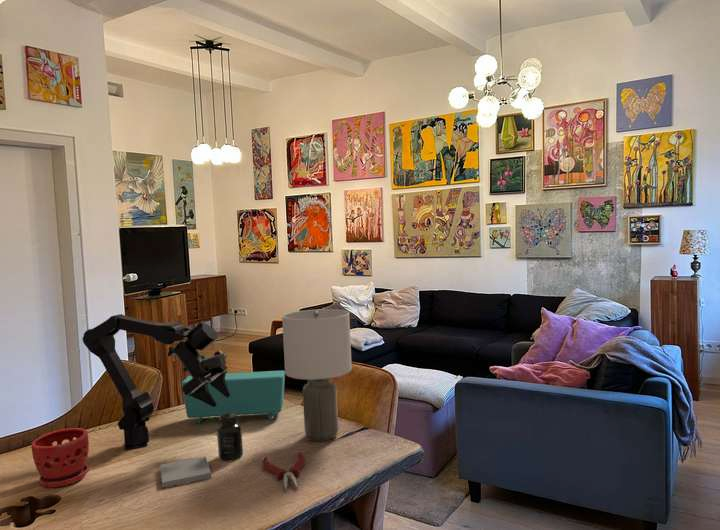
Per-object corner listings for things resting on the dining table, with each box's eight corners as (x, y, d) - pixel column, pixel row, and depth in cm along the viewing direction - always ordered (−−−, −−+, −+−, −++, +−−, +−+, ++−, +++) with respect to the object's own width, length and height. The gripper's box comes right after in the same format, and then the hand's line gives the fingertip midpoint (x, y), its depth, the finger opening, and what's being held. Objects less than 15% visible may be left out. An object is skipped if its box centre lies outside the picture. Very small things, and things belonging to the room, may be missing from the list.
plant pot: (53, 470, 153) (50, 428, 152) (100, 469, 152) (97, 426, 152) (23, 492, 140) (19, 446, 139) (74, 491, 139) (70, 444, 139)
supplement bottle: (248, 453, 158) (245, 412, 158) (233, 463, 152) (230, 420, 152) (228, 450, 161) (226, 410, 161) (213, 459, 155) (211, 418, 154)
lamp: (367, 437, 167) (362, 310, 164) (308, 455, 155) (302, 318, 153) (332, 420, 183) (327, 305, 181) (277, 435, 172) (270, 312, 170)
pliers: (268, 497, 132) (267, 487, 132) (262, 464, 151) (261, 455, 151) (315, 490, 135) (314, 480, 135) (303, 459, 154) (302, 450, 154)
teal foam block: (287, 410, 197) (285, 369, 196) (284, 420, 186) (282, 376, 186) (191, 416, 195) (188, 374, 194) (183, 426, 185) (180, 382, 184)
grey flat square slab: (162, 488, 138) (162, 482, 138) (160, 470, 150) (160, 464, 149) (211, 478, 143) (211, 472, 143) (205, 461, 154) (205, 456, 154)
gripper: (195, 350, 153) (228, 395, 152) (224, 337, 172) (254, 377, 171) (167, 373, 156) (200, 417, 154) (198, 358, 174) (228, 397, 173)
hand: (222, 401), depth 163 cm, fingers open, 9 cm apart
